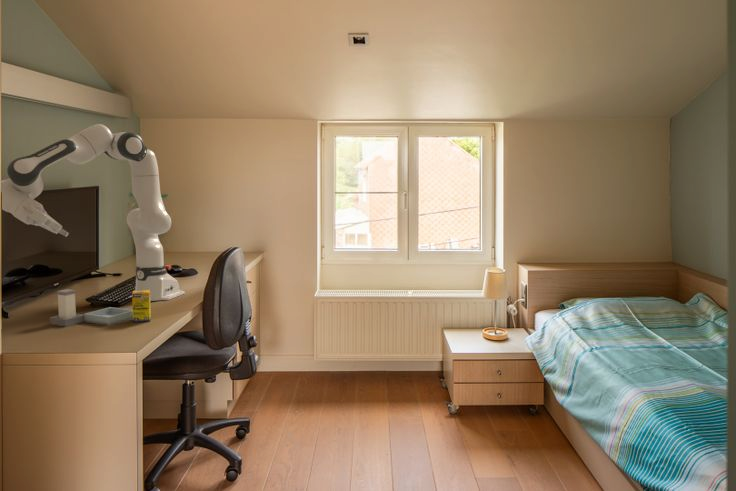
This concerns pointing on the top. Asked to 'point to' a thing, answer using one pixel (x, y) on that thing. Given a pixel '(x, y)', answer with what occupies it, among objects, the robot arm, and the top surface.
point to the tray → (108, 316)
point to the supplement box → (141, 306)
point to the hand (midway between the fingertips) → (63, 232)
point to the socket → (67, 320)
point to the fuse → (66, 303)
